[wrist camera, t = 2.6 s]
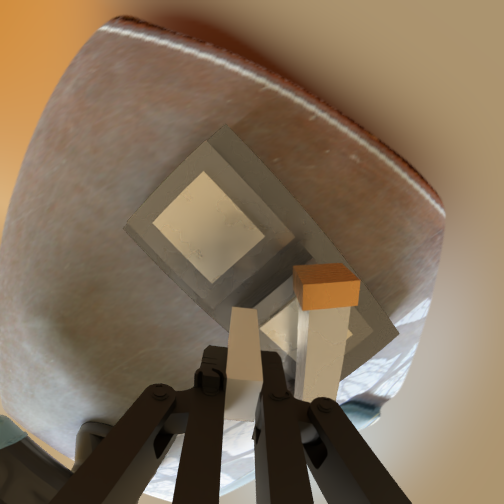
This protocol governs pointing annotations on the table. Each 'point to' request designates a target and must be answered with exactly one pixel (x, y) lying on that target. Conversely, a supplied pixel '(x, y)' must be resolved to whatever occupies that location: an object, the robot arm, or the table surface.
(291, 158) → the table surface
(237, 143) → the grey stepped block base
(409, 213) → the table surface
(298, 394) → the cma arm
